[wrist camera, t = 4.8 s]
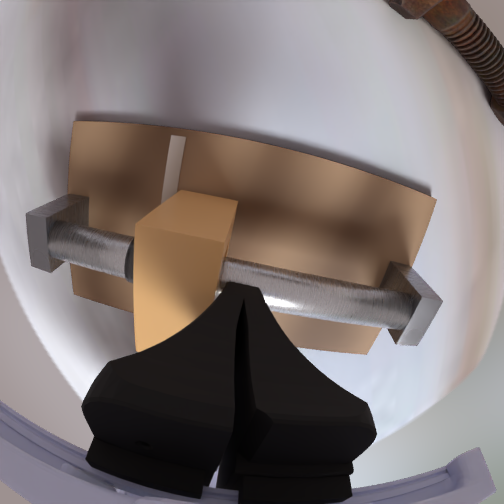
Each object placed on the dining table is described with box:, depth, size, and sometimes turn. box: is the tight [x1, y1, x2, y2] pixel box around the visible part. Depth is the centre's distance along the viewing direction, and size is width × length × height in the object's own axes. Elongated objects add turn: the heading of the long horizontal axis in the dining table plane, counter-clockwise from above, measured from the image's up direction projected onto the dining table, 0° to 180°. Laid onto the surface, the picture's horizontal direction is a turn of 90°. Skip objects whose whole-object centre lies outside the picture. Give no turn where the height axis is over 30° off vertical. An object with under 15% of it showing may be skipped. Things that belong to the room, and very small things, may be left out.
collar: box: [133, 190, 238, 352], centre depth 12 cm, size 3×6×6 cm, turn 168°
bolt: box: [389, 0, 504, 126], centre depth 8 cm, size 6×5×15 cm
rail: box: [26, 194, 443, 346], centre depth 14 cm, size 22×3×5 cm, turn 78°
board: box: [68, 121, 437, 355], centre depth 16 cm, size 22×12×1 cm, turn 78°
